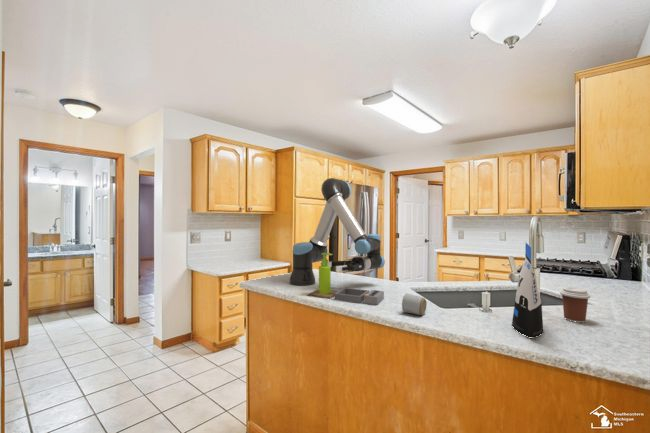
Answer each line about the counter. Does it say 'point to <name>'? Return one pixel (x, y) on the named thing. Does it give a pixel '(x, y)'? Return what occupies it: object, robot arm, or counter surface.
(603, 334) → the counter surface
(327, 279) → the soap dispenser
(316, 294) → the walnut pad
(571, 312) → the coffee cup
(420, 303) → the ceramic mug
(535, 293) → the protein powder
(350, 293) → the tray
